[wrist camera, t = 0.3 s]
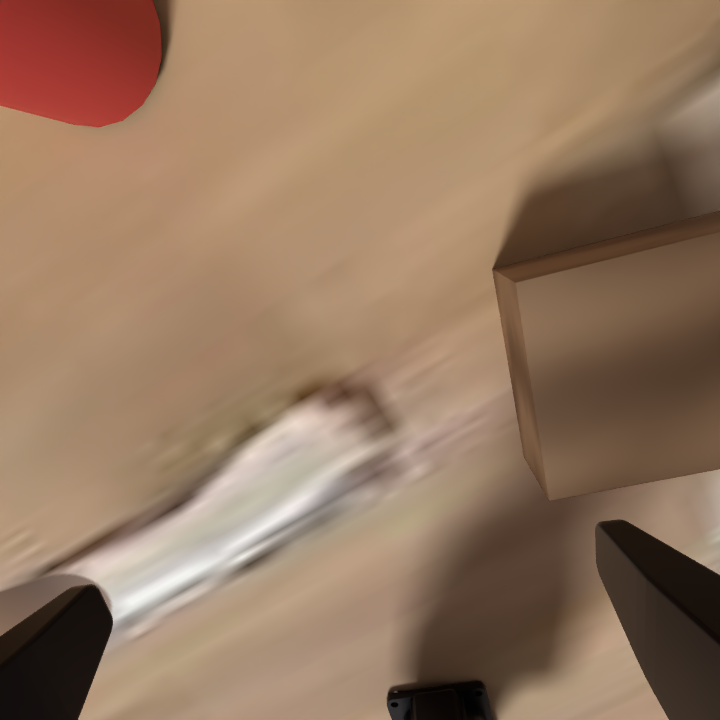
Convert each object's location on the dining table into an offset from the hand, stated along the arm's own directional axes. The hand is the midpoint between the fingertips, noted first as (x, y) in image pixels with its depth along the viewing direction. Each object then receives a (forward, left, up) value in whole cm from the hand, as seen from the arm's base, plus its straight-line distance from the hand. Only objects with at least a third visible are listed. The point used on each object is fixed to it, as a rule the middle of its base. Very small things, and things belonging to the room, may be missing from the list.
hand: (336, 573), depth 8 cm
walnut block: (-3, -12, -15) cm, 19 cm away
